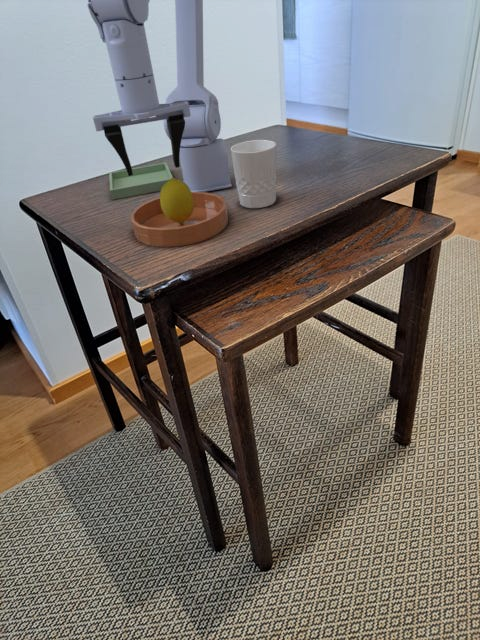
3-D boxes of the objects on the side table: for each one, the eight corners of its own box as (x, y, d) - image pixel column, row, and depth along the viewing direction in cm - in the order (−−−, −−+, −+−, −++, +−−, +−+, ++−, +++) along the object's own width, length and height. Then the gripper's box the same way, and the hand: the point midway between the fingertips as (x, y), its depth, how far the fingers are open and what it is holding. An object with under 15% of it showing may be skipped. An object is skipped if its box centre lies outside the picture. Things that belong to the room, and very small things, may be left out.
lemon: (188, 214, 81) (180, 170, 76) (202, 223, 77) (195, 177, 72) (160, 224, 78) (150, 178, 74) (173, 233, 74) (164, 186, 70)
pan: (217, 201, 85) (215, 186, 84) (237, 234, 72) (235, 217, 71) (132, 217, 83) (128, 202, 81) (137, 254, 70) (133, 237, 68)
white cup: (243, 213, 79) (237, 155, 73) (232, 199, 86) (225, 144, 80) (285, 204, 80) (282, 147, 75) (271, 191, 87) (267, 137, 81)
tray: (168, 170, 105) (166, 162, 104) (175, 188, 94) (173, 178, 93) (111, 181, 103) (109, 172, 102) (112, 199, 92) (109, 190, 91)
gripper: (82, 87, 61) (109, 185, 69) (186, 72, 63) (201, 168, 71) (84, 81, 67) (109, 172, 75) (180, 68, 69) (194, 157, 77)
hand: (153, 169), depth 74 cm, fingers open, 7 cm apart
